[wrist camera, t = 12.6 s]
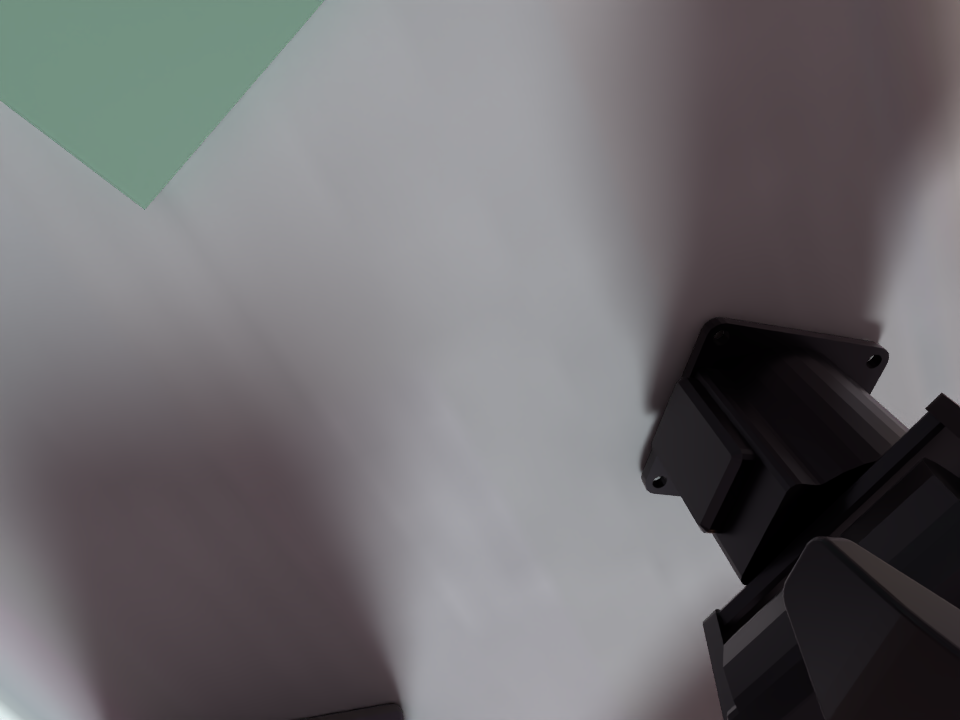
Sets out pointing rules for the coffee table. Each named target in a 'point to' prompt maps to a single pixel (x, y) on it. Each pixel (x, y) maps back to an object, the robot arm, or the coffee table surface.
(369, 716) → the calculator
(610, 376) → the coffee table surface
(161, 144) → the board
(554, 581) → the coffee table surface
